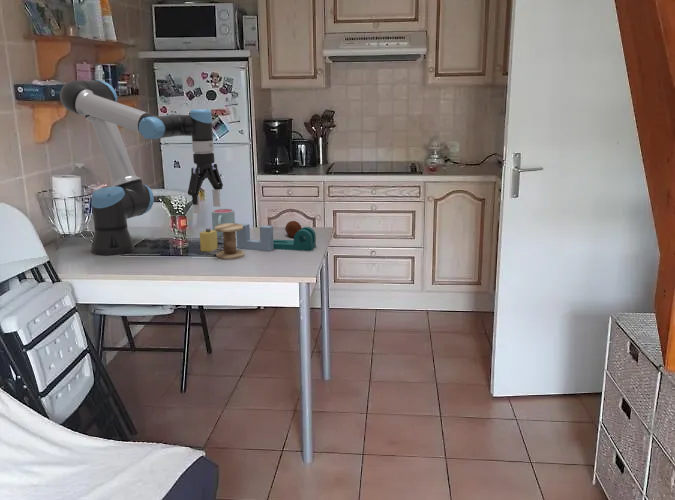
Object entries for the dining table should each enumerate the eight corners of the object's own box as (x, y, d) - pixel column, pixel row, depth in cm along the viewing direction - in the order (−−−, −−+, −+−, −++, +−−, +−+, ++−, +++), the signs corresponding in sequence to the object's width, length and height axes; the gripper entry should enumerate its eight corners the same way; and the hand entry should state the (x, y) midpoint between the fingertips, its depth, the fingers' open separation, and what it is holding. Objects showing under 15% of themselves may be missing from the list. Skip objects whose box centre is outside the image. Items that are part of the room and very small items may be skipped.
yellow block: (200, 251, 237) (199, 230, 234) (208, 247, 241) (207, 227, 239) (209, 251, 235) (208, 231, 233) (217, 248, 240) (216, 228, 238)
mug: (215, 231, 267) (214, 208, 265) (237, 231, 267) (236, 208, 264) (208, 239, 254) (206, 215, 252) (230, 239, 254) (229, 215, 251)
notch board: (237, 248, 240) (236, 225, 238) (241, 246, 243) (240, 223, 241) (270, 251, 235) (269, 227, 233) (273, 249, 238) (273, 226, 236)
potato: (283, 238, 255) (282, 222, 253) (287, 233, 264) (286, 218, 262) (300, 238, 254) (299, 223, 253) (303, 233, 263) (303, 218, 262)
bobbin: (211, 257, 227) (209, 228, 224) (225, 251, 236) (223, 222, 233) (235, 260, 223) (234, 230, 221) (249, 253, 233) (247, 224, 230)
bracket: (315, 247, 242) (315, 227, 240) (311, 251, 235) (310, 231, 233) (271, 244, 246) (270, 225, 244) (265, 249, 239) (264, 228, 237)
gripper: (193, 156, 216) (197, 216, 222) (229, 149, 239) (232, 204, 244) (174, 155, 219) (179, 215, 224) (212, 149, 242) (216, 203, 247)
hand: (207, 209), depth 234 cm, fingers open, 13 cm apart
